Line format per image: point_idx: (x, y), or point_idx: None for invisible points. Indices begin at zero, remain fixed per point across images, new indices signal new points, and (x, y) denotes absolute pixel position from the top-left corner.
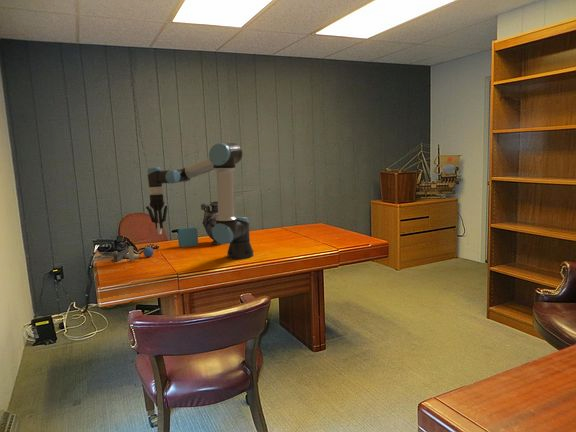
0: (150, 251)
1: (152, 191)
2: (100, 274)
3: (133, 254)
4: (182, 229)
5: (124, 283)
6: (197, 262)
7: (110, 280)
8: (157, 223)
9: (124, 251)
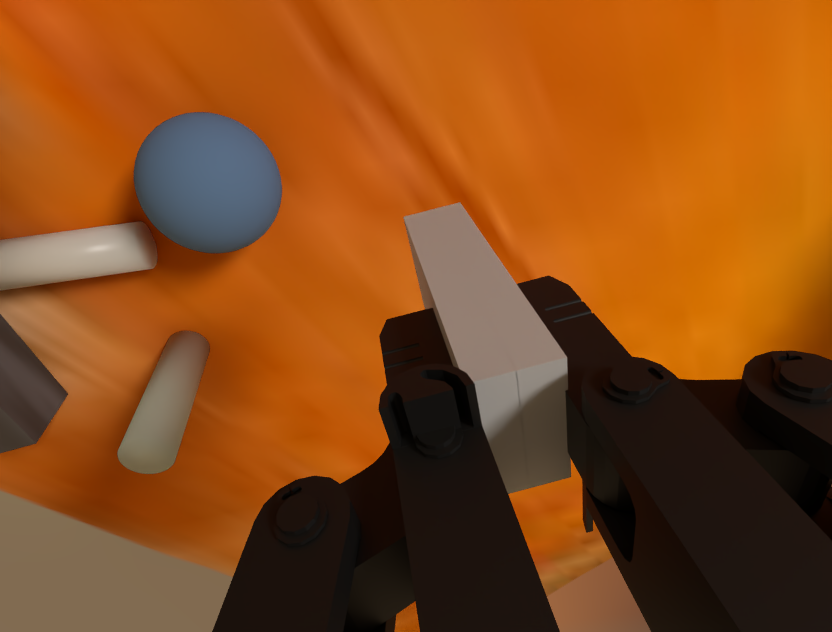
0: (272, 222)
1: None
2: None
3: (194, 383)
4: None
5: None
6: (783, 273)
7: (409, 612)
8: (507, 492)
9: None
